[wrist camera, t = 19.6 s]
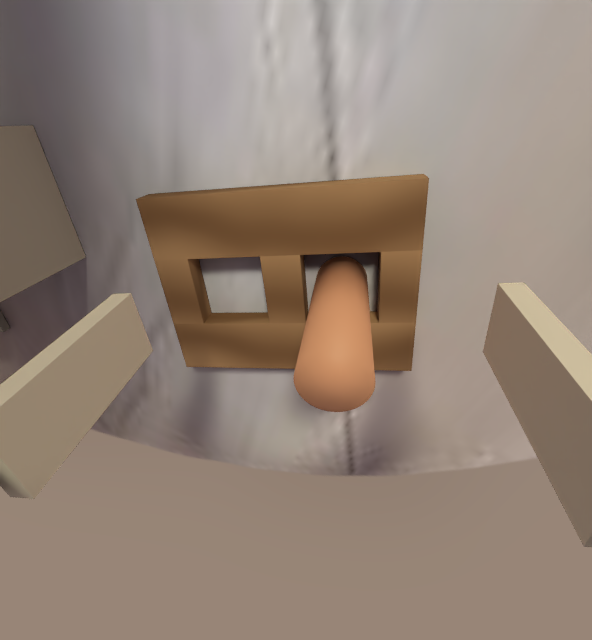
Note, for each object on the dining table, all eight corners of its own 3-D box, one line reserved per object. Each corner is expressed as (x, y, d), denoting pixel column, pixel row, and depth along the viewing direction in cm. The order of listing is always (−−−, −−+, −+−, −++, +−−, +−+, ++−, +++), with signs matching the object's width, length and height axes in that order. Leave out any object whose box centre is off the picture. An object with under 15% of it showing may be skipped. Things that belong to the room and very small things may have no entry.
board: (148, 194, 21) (135, 199, 20) (423, 173, 19) (428, 178, 17) (194, 355, 27) (186, 366, 26) (408, 357, 24) (411, 370, 23)
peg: (314, 257, 22) (288, 348, 13) (366, 254, 21) (375, 347, 13) (318, 303, 23) (298, 411, 15) (367, 301, 23) (375, 412, 14)
